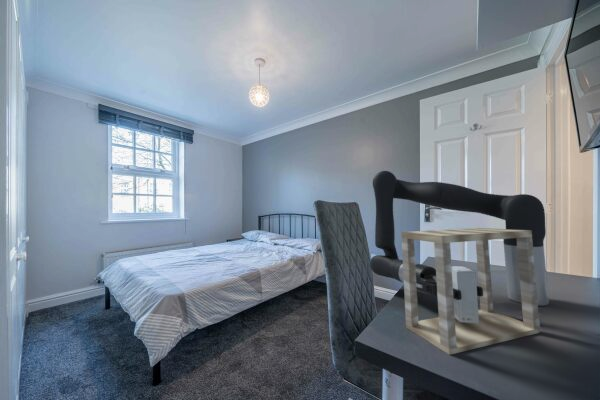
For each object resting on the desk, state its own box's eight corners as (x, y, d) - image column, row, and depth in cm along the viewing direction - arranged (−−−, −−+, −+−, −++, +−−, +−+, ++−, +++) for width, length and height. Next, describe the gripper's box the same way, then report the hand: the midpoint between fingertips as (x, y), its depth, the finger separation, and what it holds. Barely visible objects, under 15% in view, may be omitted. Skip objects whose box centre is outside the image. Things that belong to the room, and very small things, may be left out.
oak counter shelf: (486, 312, 65) (479, 228, 67) (540, 332, 54) (531, 230, 55) (406, 327, 58) (401, 232, 59) (449, 354, 46) (441, 235, 48)
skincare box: (480, 324, 54) (476, 271, 55) (459, 322, 55) (456, 271, 56) (466, 313, 60) (464, 266, 61) (448, 311, 61) (446, 265, 62)
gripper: (397, 265, 70) (446, 281, 54) (435, 261, 74) (492, 275, 58) (398, 291, 70) (448, 314, 53) (437, 286, 74) (494, 306, 57)
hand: (471, 293), depth 56 cm, fingers closed on skincare box, 6 cm apart
